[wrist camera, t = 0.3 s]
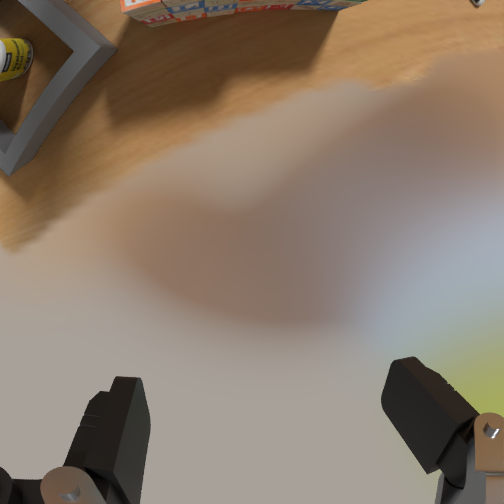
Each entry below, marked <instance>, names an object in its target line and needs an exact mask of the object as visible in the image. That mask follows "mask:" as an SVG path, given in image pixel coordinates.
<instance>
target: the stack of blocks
mask: <svg viewBox="0 0 504 504" xmlns="http://www.w3.org/2000/svg"><path fill="white" fill-rule="evenodd" d="M364 1H367V0H120V5H121V11H122V13H124V14H126V15H128V16H131V18H134V19H136V20H137V21H141V22H143V23H145V24H147V25H148V26H150V27H157V26H161V25H165V24H170V23H175V22H183V21H188V20H194V19H199V18H205V17H213V16H220V15H228V14H234V13H236V12H247V11H260V10H270V9H290V10H316V9H317V10H342V9H345V8H348V7H352V6H355V5H358V4H361V3H362V2H364Z"/></svg>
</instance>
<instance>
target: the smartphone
mask: <svg viewBox="0 0 504 504" xmlns="http://www.w3.org/2000/svg"><path fill="white" fill-rule="evenodd" d="M472 1H473V3H474V4H475V5H477V6H481V5H482V4H483V3H484V1H485V0H472Z"/></svg>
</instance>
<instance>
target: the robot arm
mask: <svg viewBox="0 0 504 504" xmlns="http://www.w3.org/2000/svg"><path fill="white" fill-rule="evenodd" d="M381 403H382V408H383V410H384V412H385V414H386V415H387V416H388V418H389V419H390V421H391V422H392V424H393V425H394V427H395V428H396V430H397V431H398V432H399V434H400V435H401V437H402V438H403V439H404V441H405V443H406V444H407V446H408V447H409V448H410V450H411V451H412V453H413V454H414V456H415V457H416V459H417V460H418V462H419V463H420V465H421V466H422V468H423V469H424V470H425V472H426V473H427V474H429V473H432V472H434V471H436V470H438V469H441V471H442V474H441V475H440V477H439V481H438V487H437V493H436V499H435V504H504V418H503V417H502V416H500V415H498V414H495V413H483V414H481V415H480V414H479V413H478V412H477V411H476V410H475V409H474V408H473V407H472V406H471V405H470V404H469V403H468V402H467V401H466V400H465V399H464V398H463V397H462V396H461V395H460V394H459V393H458V392H457V391H454V388H453V387H452V386H451V385H450V384H447V381H446V380H445V379H444V378H442V376H441V375H440V374H439V373H437V372H435V371H433V370H431V369H429V368H427V367H425V366H424V365H423V364H422V363H421V362H420V361H419V360H418V359H417V358H416V357H413V356H412V357H407V358H403V359H398V360H394V361H393V362H392V364H391V366H390V369H389V373H388V376H387V380H386V383H385V386H384V389H383V392H382V396H381ZM150 425H151V424H150V414H149V410H148V405H147V401H146V397H145V392H144V388H143V383H142V380H141V378H136V377H119V376H117V377H115V379H114V381H113V384H112V386H111V389H110V391H109V392H105V391H100V392H99V393H98V394H97V395H95V396H94V397H93V398H92V399H91V400H90V401H89V403H88V406H87V408H86V410H85V413H84V416H83V417H82V420H81V422H80V426H79V427H78V429H77V432H76V434H75V437H74V439H73V442H72V444H71V447H70V449H69V452H68V455H67V457H66V460H65V463H64V465H63V466H62V467H58V468H55V469H53V470H51V471H49V472H48V473H47V474H46V475H45V476H44V478H43V479H40V480H27V479H26V480H24V479H12V478H11V477H10V475H9V474H8V473H7V472H6V471H5V470H4V469H3V468H1V467H0V504H140V498H141V490H142V482H143V475H144V467H145V461H146V454H147V447H148V442H149V436H150Z"/></svg>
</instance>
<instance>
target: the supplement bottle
mask: <svg viewBox="0 0 504 504" xmlns="http://www.w3.org/2000/svg"><path fill="white" fill-rule="evenodd" d="M32 59H33V48H32V45H31V43H30V42H29V41H28V40H26V39H19V38H0V82H1V81H5V80H10V79H15V78H18V77H20V76H22V75H23V74H24V73H25V72H26V71H27V70H28V68H29V67H30V65H31V62H32Z"/></svg>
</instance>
